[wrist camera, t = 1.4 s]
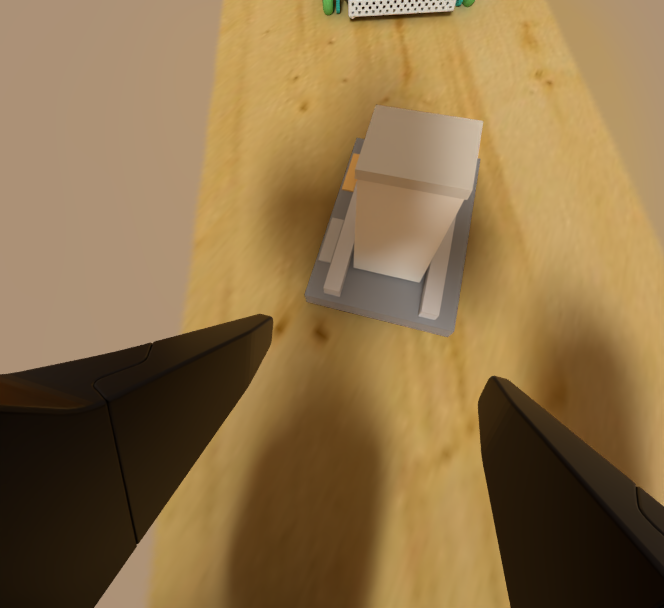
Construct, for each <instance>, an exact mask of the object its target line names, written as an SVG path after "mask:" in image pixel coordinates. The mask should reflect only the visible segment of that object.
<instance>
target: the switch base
mask: <svg viewBox="0 0 664 608" xmlns="http://www.w3.org/2000/svg"><path fill="white" fill-rule="evenodd" d="M364 140H365V139H360V138H357V139H356V142H355V145H354V148H353V151H352V154H351V157H350V160H349V163H348V166H347V169H346V172H345V175H344V178H343V181H342V184H341V187H340V190H339V193H338V196H337V199H336V202H335V205H334V208H333V211H332V214H331V217H330V220H329V223H328V226H327V229H326V232H325V235H324V238H323V241H322V244H321V247H320V250H319V253H318V256H317V259H316V262H315V265H314V268H313V271H312V274H311V277H310V280H309V283H308V286H307V289H306V292H305V298H306V301H307V302H309V303H313V304H317V305H321V306H325V307H329V308H333V309H337V310H341V311H345V312H349V313H353V314H357V315H361V316H365V317H369V318H373V319H377V320H381V321H385V322H389V323H393V324H397V325H401V326H405V327H409V328H413V329H417V330H421V331H425V332H429V333H433V334H437V335H441V336H445V337H448V336H449V335H451V334H452V333H453V332H454V329H455V322H456V316H457V309H458V303H459V296H460V289H461V283H462V276H463V270H464V263H465V256H466V250H467V243H468V237H469V230H470V224H471V217H472V210H473V204H474V197H475V191H476V184H477V177H478V171H479V164H480V159H478V158H477V165H476V171H475V178H474V184H473V190H472V192H471V194H470V196H469V198H468V200H464V201H463V203H462V205H461V207H460V209H459V210H458V212H457V214H456V216H455V218H454V220H453V221H452V223H451V225H450V227H449V229H448V231H447V233H446V234H445V236H444V238H443V240H442V242H441V244H440V246H439V247H438V249H437V251H436V253H435V255H434V257H433V258H432V260H431V262H430V264H429V266H428V268H427V270H426V271H425V273H424V275H423V277H422V279H421V281H420V282H419V283H418V282H414V281H410V280H405V279H401V278H397V277H392V276H388V275H384V274H379V273H375V272H370V271H366V270H362V269H357V268H353V267H354V243H355V220H356V196H357V179H355V168H356V165H357V161H358V158H359V155H360V152H361V149H362V146H363V143H364Z"/></svg>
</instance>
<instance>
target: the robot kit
mask: <svg viewBox="0 0 664 608" xmlns="http://www.w3.org/2000/svg"><path fill="white" fill-rule="evenodd" d="M380 1H382V4H380ZM387 1H389V4H387ZM474 1H475V0H439V1H437V0H432V1H430V0H425V1H424V2H422V0H418V2H415V0H411V2H408V0H404V2H403V3H401V0H397V1H396V3H394V0H348V12H349V17H350V18H352V19H353V18H355V17H359V16H377V15H394V14H412V13H429V12H447V11H453V10H454V7H455V5H456V6H460V5H461V4H463V5H464V6H466V7H469V6H471V5H472V4H473V3H474ZM366 2H368V5H366ZM373 2H375V4H373ZM434 2H435V5H432V3H434ZM440 2H442V5H439V3H440ZM447 2H449V3H448V5H446V4H447ZM359 3H361V5H359ZM419 3H421V5H420V6H418V4H419ZM425 3H428V5H427V6H425ZM404 4H407V5H406V7H404ZM411 4H414V5H413V7H411ZM383 5H386V6H385V8H383ZM390 5H393V6H392V8H390ZM397 5H400V6H399V7H397ZM369 6H371V9H369ZM376 6H378V9H376ZM442 6H445V7H442ZM451 6H452V7H451ZM356 7H358V8H357V10H356ZM362 7H364V9H362ZM428 7H431V8H428ZM407 8H410V9H407ZM414 8H415V9H414ZM393 9H396V10H393ZM435 9H436V10H435ZM323 10H324V13H325V14H326V15H331V14H332V12H333V0H323ZM372 10H375V11H372ZM379 10H380V11H379ZM336 11H337V13H340V0H336ZM358 11H361V12H358ZM400 11H401V12H400ZM365 13H367V14H365Z"/></svg>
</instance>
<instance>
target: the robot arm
mask: <svg viewBox="0 0 664 608" xmlns="http://www.w3.org/2000/svg"><path fill="white" fill-rule="evenodd" d="M272 330H273V318H272V317H271V316H267V315H263V314H257V315H253V316H250V317H246V318H242V319H238V320H234V321H231V322H227V323H223V324H219V325H216V326H212V327H208V328H204V329H200V330H197V331H193V332H189V333H185V334H182V335H178V336H174V337H170V338H166V339H163V340H159V341H155V342H153V344H152V343H147V344H144V345H140V346H136V347H132V348H128V349H124V350H120V351H116V352H111V353H107V354H102V355H98V356H93V357H89V358H84V359H79V360H74V361H69V362H65V363H60V364H55V365H50V366H46V367H40V368H35V369H31V370H26V371H21V372H15V373H10V374H0V608H94V607H95V605H96V604H97V603H98V601H99V599H100V598H101V597H102V595H103V594H104V593H105V591H106V590H107V588H108V587H109V585H110V584H111V583H112V581H113V580H114V578H115V577H116V575H117V574H118V573H119V571H120V570H121V568H122V567H123V565H124V564H125V562H126V561H127V560H128V558H129V557H130V555H131V554H132V553H133V551H134V550H135V548H136V547H137V544H138V543H139V542H140V540H141V539H142V538H143V536H144V535H145V534H146V532H147V531H148V529H149V528H150V527H151V525H152V524H153V522H154V521H155V519H156V518H157V517H158V515H159V514H160V512H161V511H162V509H163V508H164V507H165V505H166V504H167V502H168V501H169V499H170V498H171V497H172V495H173V494H174V492H175V491H176V489H177V488H178V487H179V485H180V484H181V482H182V481H183V479H184V478H185V477H186V475H187V474H188V472H189V471H190V469H191V468H192V467H193V465H194V464H195V462H196V461H197V459H198V458H199V457H200V455H201V454H202V452H203V451H204V449H205V448H206V447H207V445H208V444H209V442H210V441H211V439H212V438H213V437H214V435H215V434H216V432H217V431H218V429H219V428H220V427H221V425H222V424H223V422H224V421H225V419H226V418H227V417H228V415H229V414H230V412H231V411H232V409H233V408H234V407H235V405H236V404H237V402H238V401H239V399H240V398H241V397H242V395H243V394H244V392H245V391H246V389H247V388H248V386H249V384H250V383H251V381H252V379H253V377H254V375H255V374H256V372H257V370H258V368H259V366H260V364H261V362H262V360H263V359H264V357H265V355H266V353H267V351H268V349H269V347H270V345H271V341H272ZM478 415H479V429H480V443H481V454H482V461H483V467H484V472H485V477H486V482H487V488H488V493H489V498H490V503H491V508H492V513H493V519H494V524H495V529H496V534H497V539H498V544H499V550H500V555H501V560H502V565H503V570H504V576H505V581H506V586H507V591H508V596H509V601H510V607H511V608H664V506H662V505H661V504H660V503H659V502H657V501H656V500H655V499H654V498H653V497H651V496H650V495H649V494H648V493H646V492H645V491H644V490H643V489H642V488H640V487H638V486H637V487H636V484H635V483H634V482H633V481H632V480H630V479H629V478H628V477H627V476H626V475H624V474H623V473H622V472H621V471H619V470H618V469H617V468H616V467H614V466H613V465H612V464H611V463H610V462H608V461H607V460H606V459H605V458H603V457H602V456H601V455H600V454H599V453H597V452H596V451H595V450H594V449H592V448H591V447H590V446H589V445H588V444H586V443H585V442H584V441H583V440H581V439H580V438H579V437H578V436H577V435H575V434H574V433H573V432H572V431H570V430H569V429H568V428H567V427H565V426H564V425H563V424H562V423H561V422H559V421H558V420H557V419H556V418H554V417H553V416H552V415H551V414H550V413H548V412H547V411H546V410H545V409H543V408H542V407H541V406H540V405H539V404H537V403H536V402H535V401H534V400H532V399H531V398H530V397H529V396H528V395H526V394H525V393H524V392H523V391H521V390H520V389H519V388H518V387H516V386H515V385H514V384H513V383H512V382H510V381H509V380H507V379H505V378H501V377H497V376H491V377H490V378H489V379H488V381H487V383H486V385H485V387H484V389H483V391H482V394H481V396H480V398H479V401H478Z"/></svg>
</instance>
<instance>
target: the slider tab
mask: <svg viewBox="0 0 664 608" xmlns="http://www.w3.org/2000/svg"><path fill="white" fill-rule="evenodd" d="M482 126H483V121H480V120H473V119H467V118H460V117H454V116H447V115H441V114H434V113H428V112H421V111H415V110H408V109H401V108H395V107H388V106H382V105H376V106H375V109H374V112H373V115H372V118H371V121H370V124H369V127H368V130H367V133H366V137H365V140H364V143H363V146H362V149H361V152H360V155H359V158H358V161H357V165H356V168H355V179H357V196H356V220H355V243H354V267H353V268H357V269H362V270H366V271H370V272H375V273H379V274H384V275H388V276H392V277H397V278H401V279H405V280H410V281H414V282H418V283H419V282H420V281H421V279H422V277H423V275H424V273H425V271H426V270H427V268H428V266H429V264H430V262H431V260H432V258H433V257H434V255H435V253H436V251H437V249H438V247H439V246H440V244H441V242H442V240H443V238H444V236H445V234H446V233H447V231H448V229H449V227H450V225H451V223H452V221H453V220H454V218H455V216H456V214H457V212H458V210H459V209H460V207H461V205H462V203H463V201H464V200H468V198H469V196H470V194H471V192H472V190H473V184H474V178H475V171H476V165H477V158H478V152H479V145H480V139H481V133H482Z"/></svg>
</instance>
